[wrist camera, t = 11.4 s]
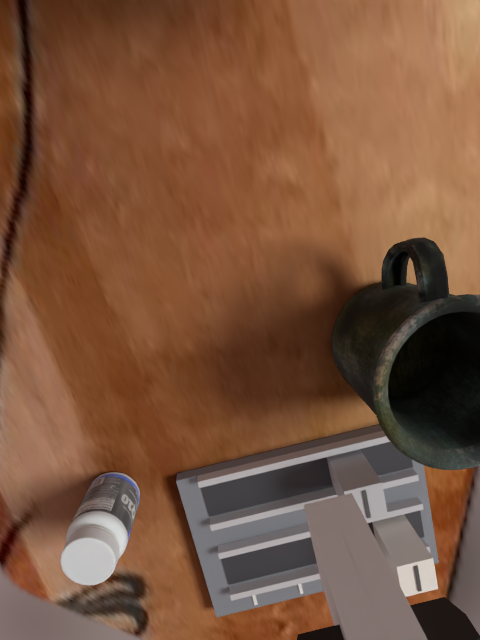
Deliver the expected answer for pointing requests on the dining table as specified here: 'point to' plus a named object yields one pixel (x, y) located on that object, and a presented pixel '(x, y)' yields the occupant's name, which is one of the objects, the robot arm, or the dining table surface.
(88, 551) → the pill bottle
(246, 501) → the console
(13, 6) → the dining table surface
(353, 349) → the mug
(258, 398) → the dining table surface
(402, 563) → the fader cap
